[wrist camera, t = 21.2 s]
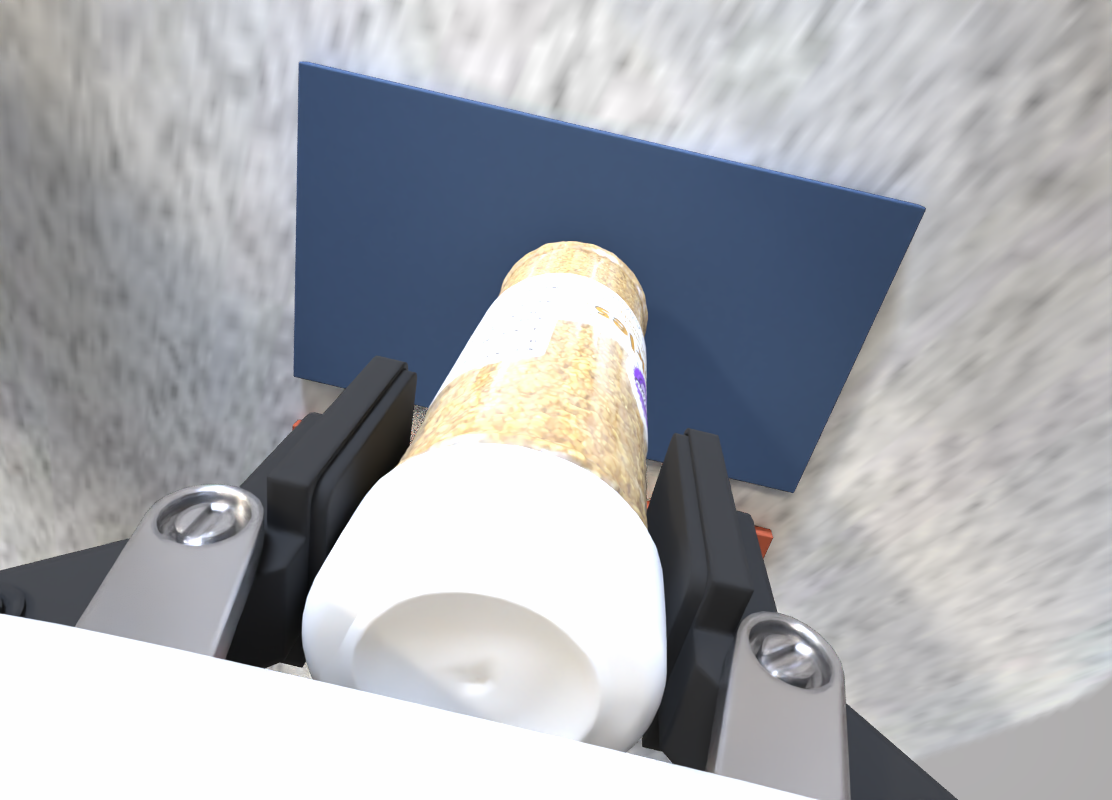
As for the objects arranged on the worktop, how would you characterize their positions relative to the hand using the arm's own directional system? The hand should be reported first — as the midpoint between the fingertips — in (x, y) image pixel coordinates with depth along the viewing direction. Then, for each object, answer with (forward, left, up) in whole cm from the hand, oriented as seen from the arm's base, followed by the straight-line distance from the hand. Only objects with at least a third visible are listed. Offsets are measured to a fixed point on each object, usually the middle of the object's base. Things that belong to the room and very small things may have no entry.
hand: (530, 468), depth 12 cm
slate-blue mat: (0, 0, -10) cm, 10 cm away
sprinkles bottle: (0, 0, -9) cm, 9 cm away
